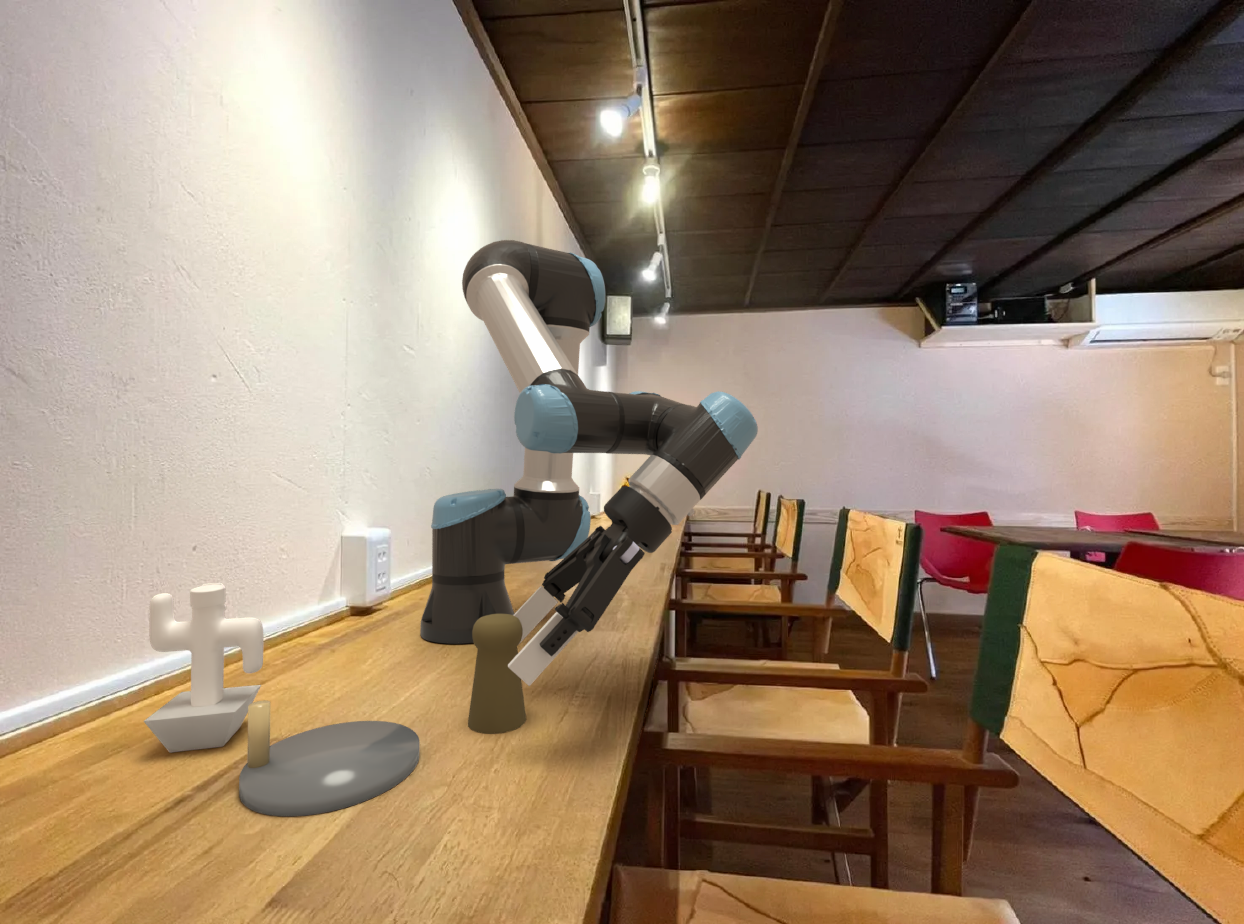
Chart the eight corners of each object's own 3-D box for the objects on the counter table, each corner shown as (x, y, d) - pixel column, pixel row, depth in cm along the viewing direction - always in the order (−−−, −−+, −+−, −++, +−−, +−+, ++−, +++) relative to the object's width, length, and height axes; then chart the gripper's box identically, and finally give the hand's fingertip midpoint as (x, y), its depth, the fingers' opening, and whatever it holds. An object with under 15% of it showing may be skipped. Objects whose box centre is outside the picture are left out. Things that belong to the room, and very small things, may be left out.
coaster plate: (312, 729, 58) (313, 668, 58) (444, 736, 56) (445, 672, 56) (194, 810, 44) (195, 728, 44) (366, 822, 42) (366, 737, 42)
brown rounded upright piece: (513, 736, 56) (513, 624, 56) (456, 731, 57) (457, 621, 58) (534, 711, 62) (534, 610, 62) (483, 707, 63) (483, 607, 63)
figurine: (248, 749, 53) (250, 589, 54) (128, 763, 51) (131, 595, 51) (272, 718, 60) (274, 576, 61) (168, 729, 58) (170, 581, 58)
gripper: (718, 540, 52) (555, 726, 48) (641, 521, 76) (529, 643, 72) (662, 483, 51) (490, 669, 46) (602, 482, 75) (485, 604, 71)
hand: (513, 653), depth 59 cm, fingers open, 13 cm apart
